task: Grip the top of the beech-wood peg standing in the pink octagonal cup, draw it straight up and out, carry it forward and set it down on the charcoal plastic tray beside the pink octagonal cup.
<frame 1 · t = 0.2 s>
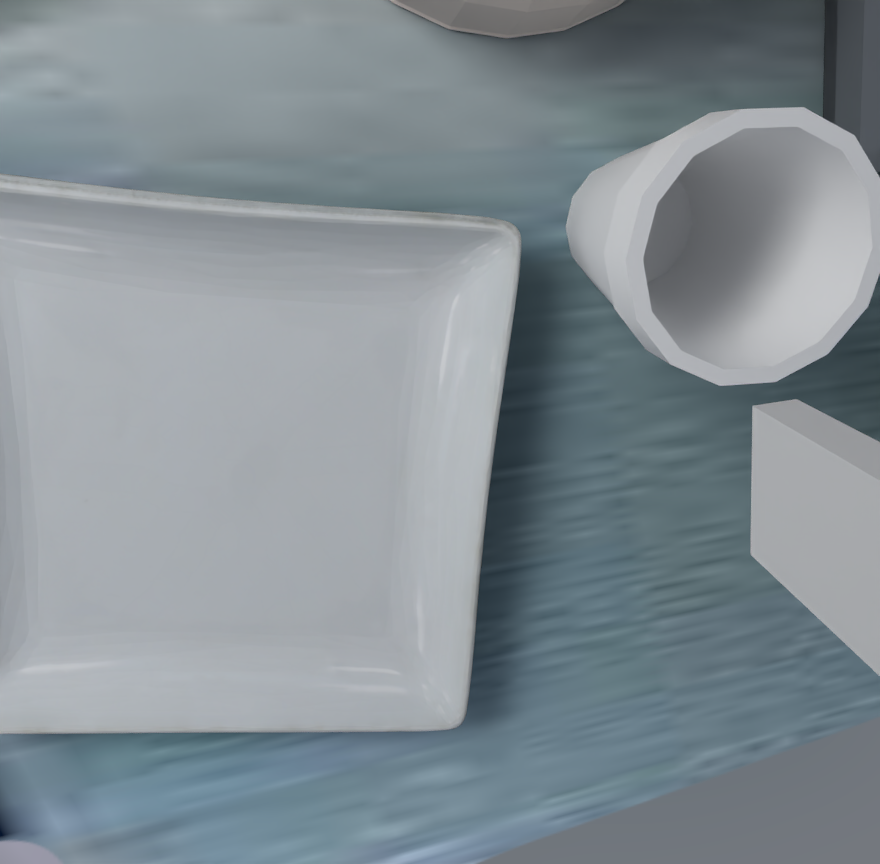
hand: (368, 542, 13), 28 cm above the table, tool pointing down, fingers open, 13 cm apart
foam cup: (627, 223, 41), on the table
square plate: (221, 465, 42), on the table
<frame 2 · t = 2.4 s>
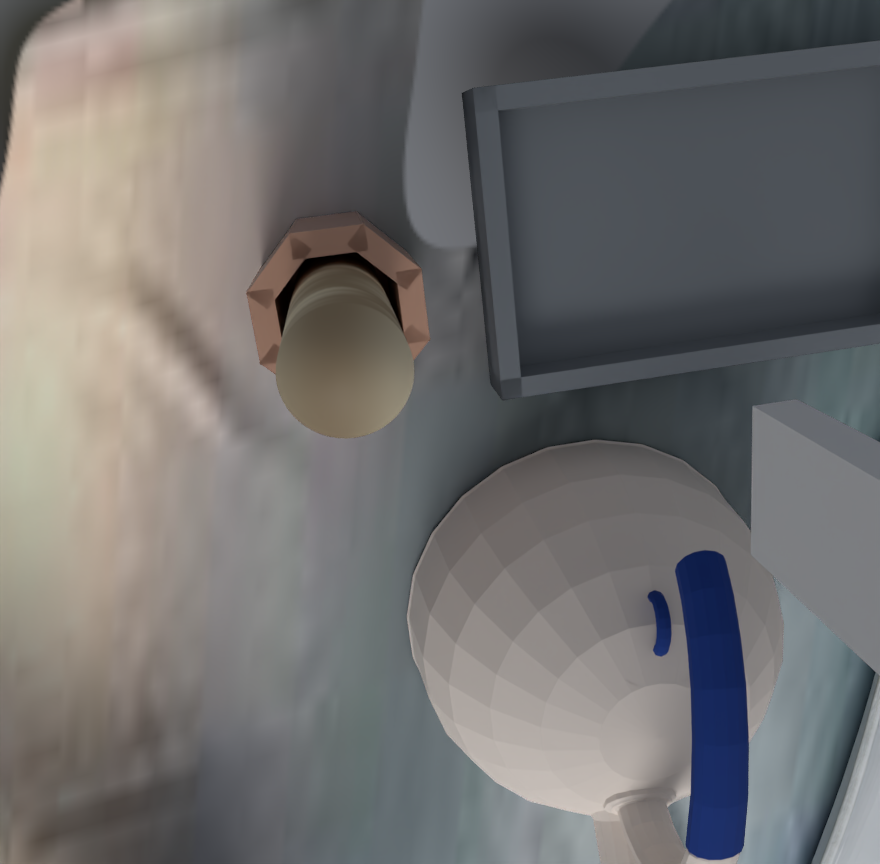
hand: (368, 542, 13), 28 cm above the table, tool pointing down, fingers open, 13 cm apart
tray: (692, 218, 41), on the table
pink octagonal cup: (337, 286, 40), on the table
kettle: (579, 603, 48), on the table
peg: (337, 289, 39), point 1 cm above the table, touching pink octagonal cup
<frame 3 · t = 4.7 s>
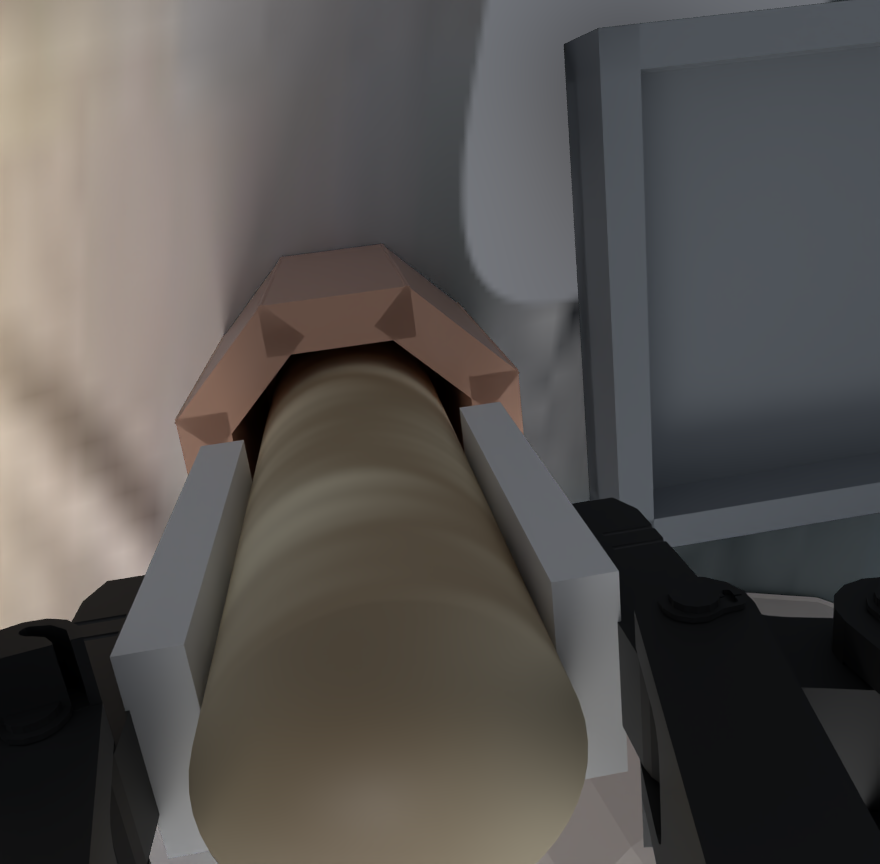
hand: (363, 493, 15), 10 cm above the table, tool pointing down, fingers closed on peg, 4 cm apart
pink octagonal cup: (349, 366, 24), on the table
kettle: (705, 817, 32), on the table
peg: (350, 375, 23), point 1 cm above the table, touching pink octagonal cup, gripper
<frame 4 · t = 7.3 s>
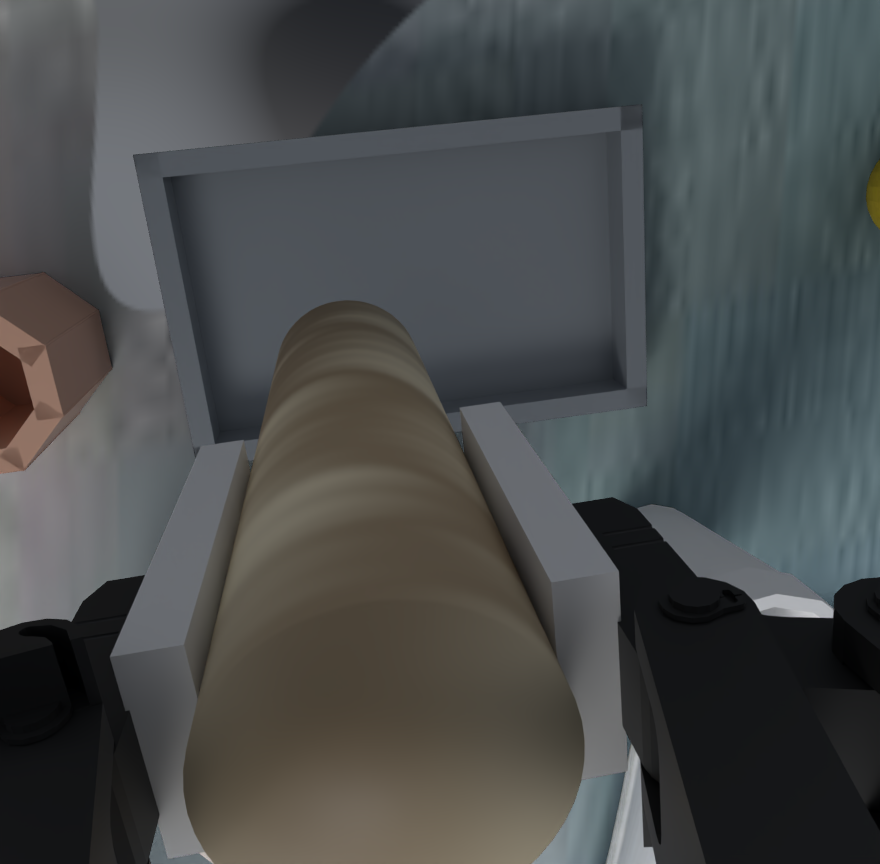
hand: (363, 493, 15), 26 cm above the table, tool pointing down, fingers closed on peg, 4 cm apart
tray: (406, 282, 40), on the table
pink octagonal cup: (31, 348, 39), on the table
foam cup: (645, 553, 47), on the table
square plate: (776, 821, 56), on the table
peg: (348, 370, 23), point 18 cm above the table, touching gripper
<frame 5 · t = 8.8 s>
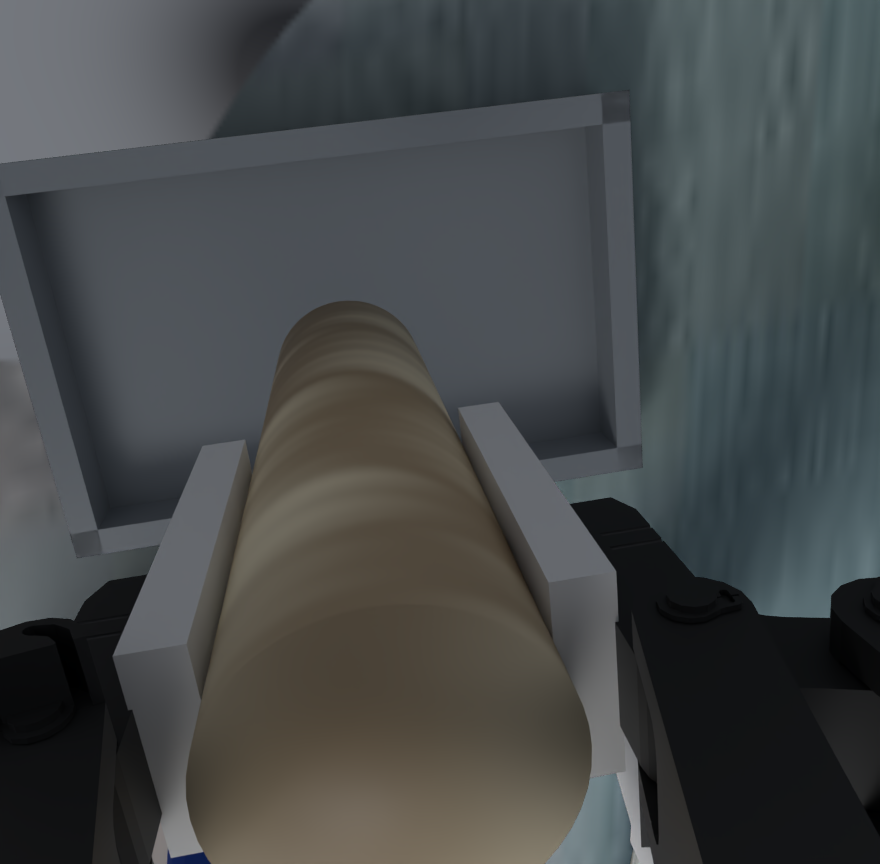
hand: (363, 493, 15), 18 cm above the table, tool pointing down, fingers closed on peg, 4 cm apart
tray: (339, 319, 32), on the table
foam cup: (645, 634, 39), on the table
kettle: (260, 774, 39), on the table
peg: (349, 371, 23), point 10 cm above the table, touching gripper
when the fingers open (11 cm above the table, at t = 10.1 s): peg drops 2 cm, resting on tray.
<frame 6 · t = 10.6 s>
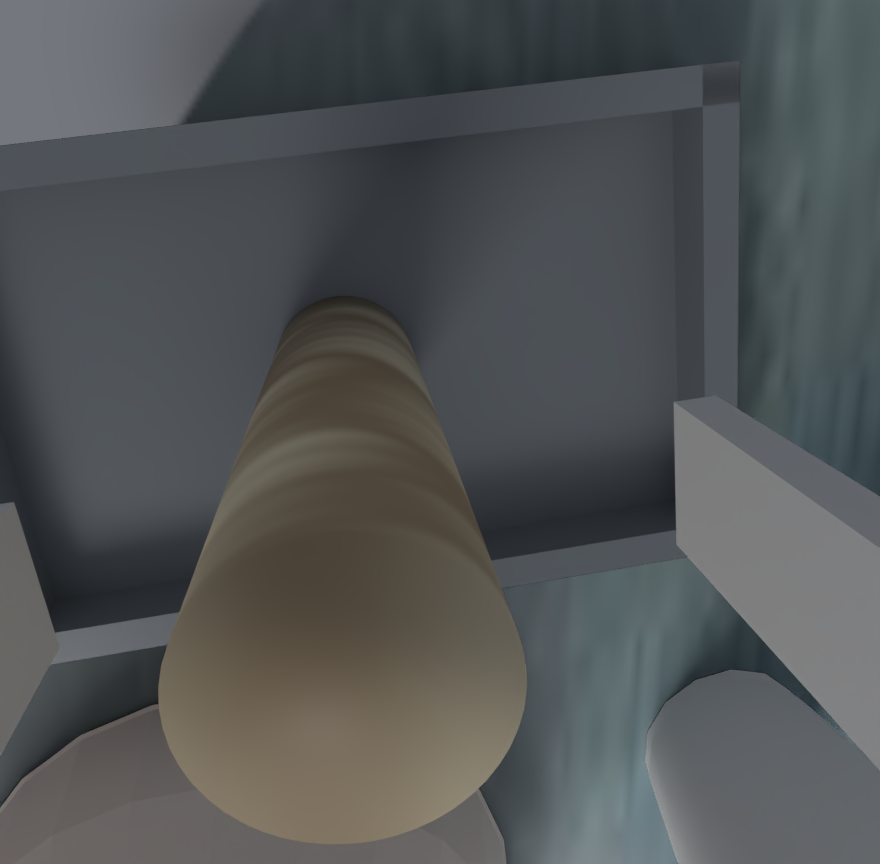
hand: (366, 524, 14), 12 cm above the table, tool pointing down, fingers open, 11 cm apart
tray: (348, 359, 25), on the table
foam cup: (720, 736, 32), on the table
peg: (345, 364, 24), point 1 cm above the table, touching tray
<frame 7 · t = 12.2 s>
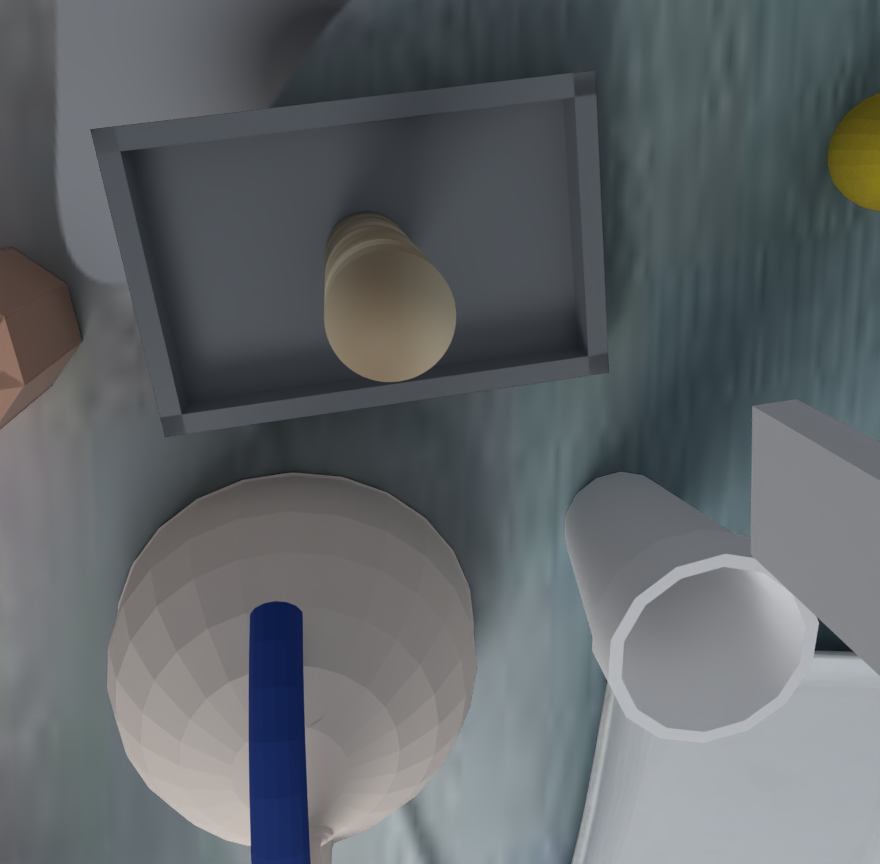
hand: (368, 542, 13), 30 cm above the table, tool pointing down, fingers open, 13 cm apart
tray: (368, 253, 41), on the table
pink octagonal cup: (3, 322, 40), on the table
foam cup: (615, 520, 48), on the table
lemon: (846, 149, 42), on the table
kettle: (300, 631, 48), on the table
square plate: (754, 786, 56), on the table
peg: (367, 253, 40), point 1 cm above the table, touching tray
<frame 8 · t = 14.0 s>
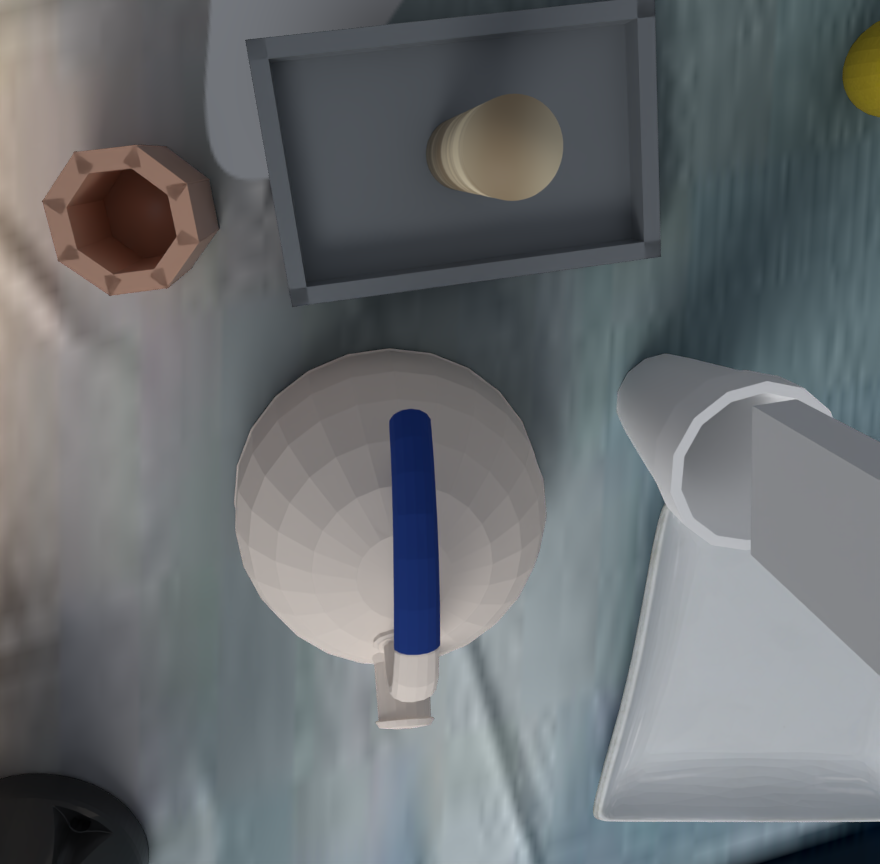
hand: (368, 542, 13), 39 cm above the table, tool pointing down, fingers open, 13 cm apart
tray: (459, 155, 49), on the table
pink octagonal cup: (154, 211, 47), on the table
foam cup: (660, 398, 55), on the table
lemon: (857, 72, 50), on the table
kettle: (389, 495, 55), on the table
square plate: (776, 648, 64), on the table
peg: (460, 154, 48), point 1 cm above the table, touching tray
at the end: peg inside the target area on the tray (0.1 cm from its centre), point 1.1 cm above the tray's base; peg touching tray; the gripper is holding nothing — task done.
